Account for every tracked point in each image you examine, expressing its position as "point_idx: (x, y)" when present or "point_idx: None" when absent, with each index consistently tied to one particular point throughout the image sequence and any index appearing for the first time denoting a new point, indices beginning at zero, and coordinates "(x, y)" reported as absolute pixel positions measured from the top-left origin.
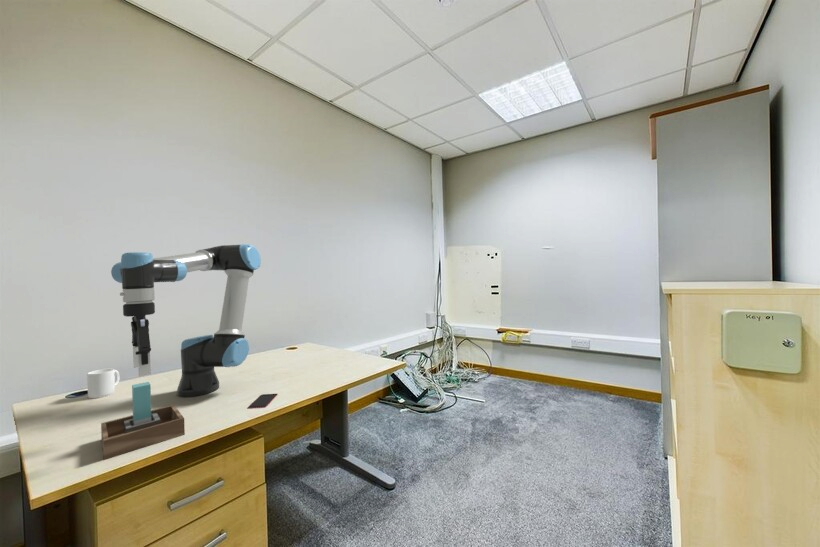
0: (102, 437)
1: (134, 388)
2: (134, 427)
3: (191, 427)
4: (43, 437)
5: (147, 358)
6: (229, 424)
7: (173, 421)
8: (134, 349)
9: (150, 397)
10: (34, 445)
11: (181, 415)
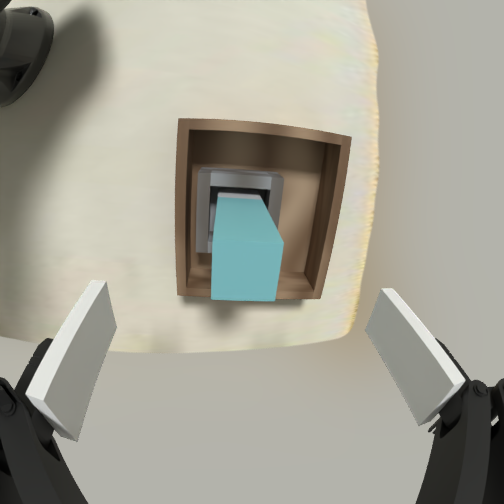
0: None
1: (274, 296)
2: None
3: (299, 107)
4: None
5: (456, 363)
6: (364, 52)
7: (347, 163)
8: (78, 423)
9: (272, 221)
10: (120, 345)
11: (321, 132)
